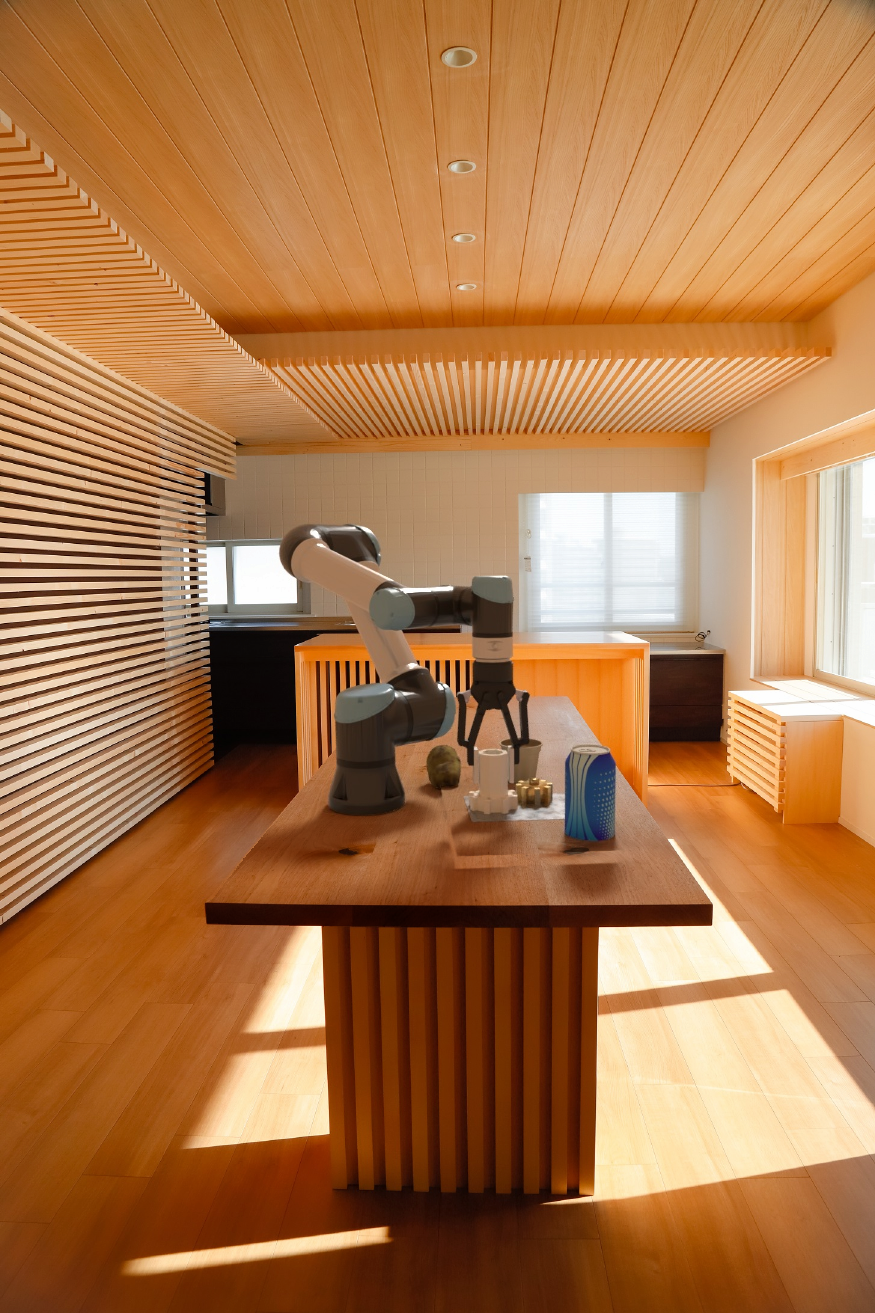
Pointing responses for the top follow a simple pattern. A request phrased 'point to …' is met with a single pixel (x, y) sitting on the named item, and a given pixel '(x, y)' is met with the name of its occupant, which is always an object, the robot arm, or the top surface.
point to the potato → (443, 767)
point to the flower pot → (525, 759)
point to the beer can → (590, 793)
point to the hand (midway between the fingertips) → (493, 781)
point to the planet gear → (493, 784)
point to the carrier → (528, 804)
